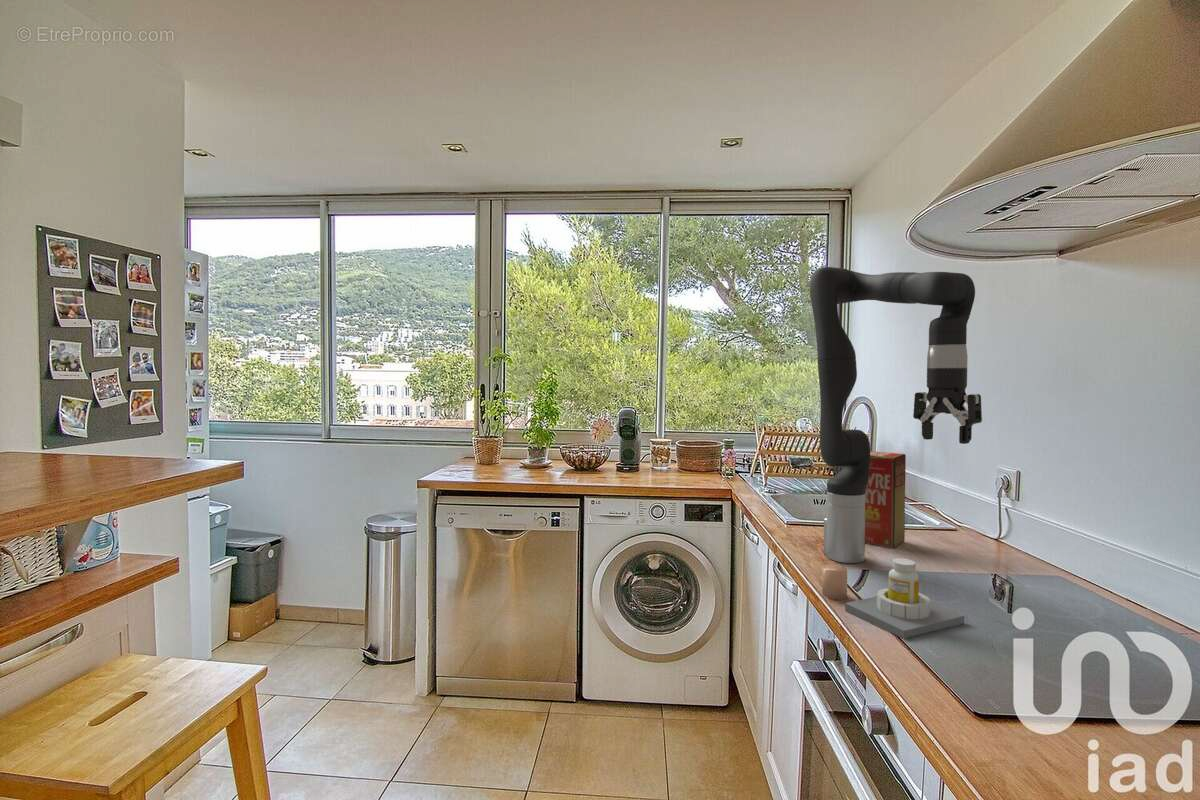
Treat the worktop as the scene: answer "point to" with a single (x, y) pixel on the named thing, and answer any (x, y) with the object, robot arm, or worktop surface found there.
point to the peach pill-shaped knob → (834, 581)
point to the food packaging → (885, 500)
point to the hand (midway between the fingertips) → (945, 441)
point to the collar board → (901, 623)
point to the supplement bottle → (903, 582)
